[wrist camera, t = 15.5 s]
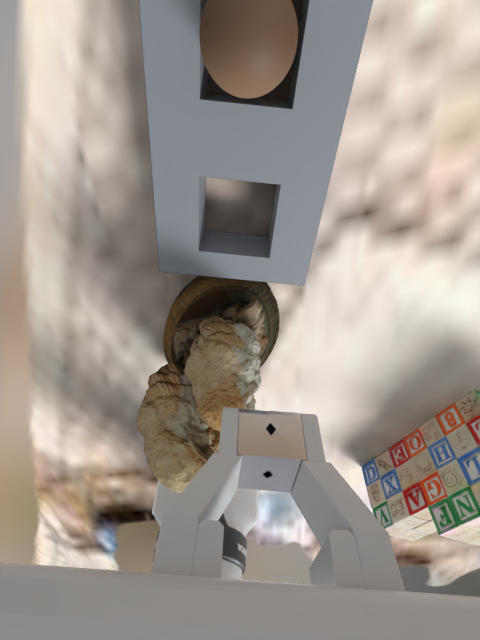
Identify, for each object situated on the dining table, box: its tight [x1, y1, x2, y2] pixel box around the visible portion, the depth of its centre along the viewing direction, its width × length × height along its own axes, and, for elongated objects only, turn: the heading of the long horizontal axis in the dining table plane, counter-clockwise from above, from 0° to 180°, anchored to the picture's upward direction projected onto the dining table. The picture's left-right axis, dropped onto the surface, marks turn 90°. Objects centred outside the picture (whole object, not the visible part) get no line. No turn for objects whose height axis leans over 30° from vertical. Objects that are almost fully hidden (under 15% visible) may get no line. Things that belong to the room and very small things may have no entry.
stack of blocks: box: [362, 390, 480, 546], centre depth 42 cm, size 21×6×12 cm, turn 154°
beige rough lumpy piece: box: [137, 276, 279, 493], centre depth 30 cm, size 18×12×17 cm, turn 163°
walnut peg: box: [199, 0, 298, 98], centre depth 18 cm, size 4×4×10 cm
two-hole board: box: [139, 0, 373, 286], centre depth 23 cm, size 20×12×4 cm, turn 175°
